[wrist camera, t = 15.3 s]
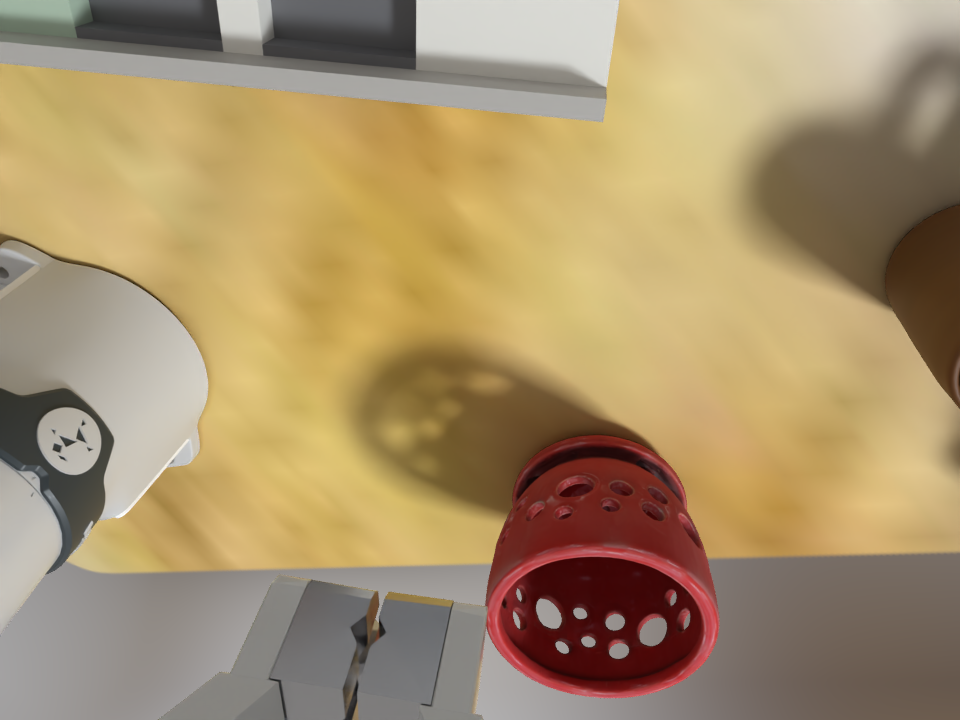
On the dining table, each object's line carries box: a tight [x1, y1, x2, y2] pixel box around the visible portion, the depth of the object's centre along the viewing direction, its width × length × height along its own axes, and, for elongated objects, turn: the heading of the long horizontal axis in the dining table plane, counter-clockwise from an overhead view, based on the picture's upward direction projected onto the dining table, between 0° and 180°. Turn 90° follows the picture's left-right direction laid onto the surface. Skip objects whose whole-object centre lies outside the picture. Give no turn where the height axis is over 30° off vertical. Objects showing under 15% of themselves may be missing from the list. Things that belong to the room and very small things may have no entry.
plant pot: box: [485, 435, 719, 698], centre depth 46 cm, size 13×13×12 cm
